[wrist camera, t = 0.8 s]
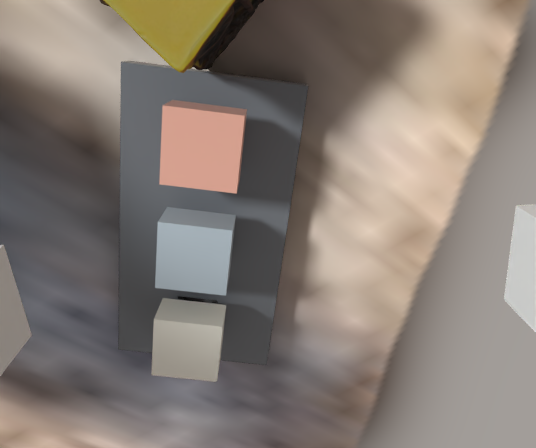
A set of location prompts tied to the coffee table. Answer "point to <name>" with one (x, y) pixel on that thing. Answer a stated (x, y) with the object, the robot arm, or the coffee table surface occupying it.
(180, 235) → the key slate
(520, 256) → the robot arm
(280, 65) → the coffee table surface
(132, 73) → the keypad base
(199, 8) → the candle
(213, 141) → the key coral
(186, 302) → the key ivory
